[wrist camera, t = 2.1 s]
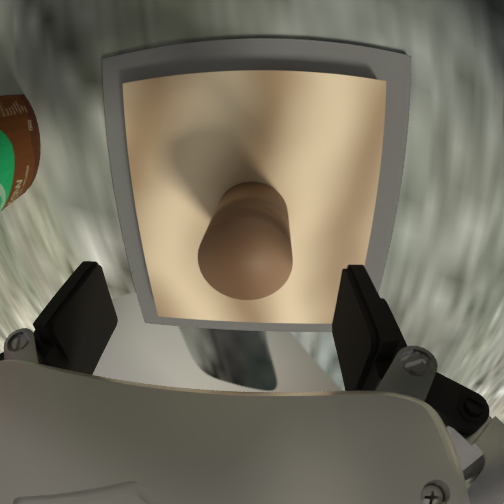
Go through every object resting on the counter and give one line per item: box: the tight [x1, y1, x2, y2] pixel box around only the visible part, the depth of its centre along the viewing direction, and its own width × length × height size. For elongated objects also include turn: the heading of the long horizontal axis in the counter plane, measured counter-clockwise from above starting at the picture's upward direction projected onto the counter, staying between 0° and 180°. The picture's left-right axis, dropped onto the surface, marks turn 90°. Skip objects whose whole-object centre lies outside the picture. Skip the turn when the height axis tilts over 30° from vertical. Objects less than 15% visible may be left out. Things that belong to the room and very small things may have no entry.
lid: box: [123, 70, 386, 324], centre depth 15 cm, size 14×16×6 cm
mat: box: [102, 38, 411, 332], centre depth 18 cm, size 18×20×1 cm
